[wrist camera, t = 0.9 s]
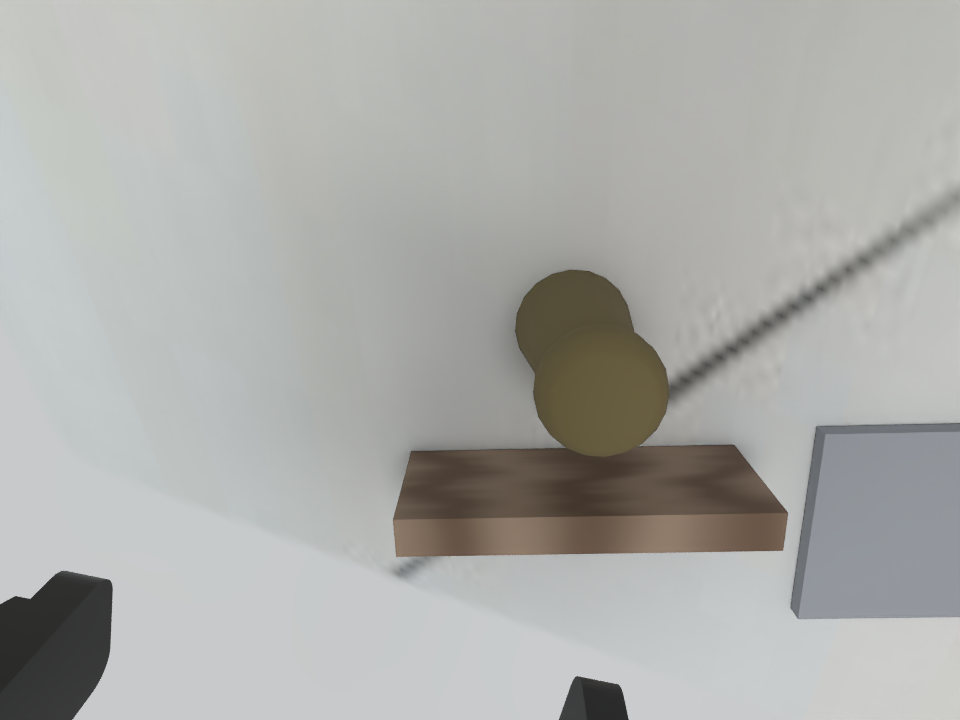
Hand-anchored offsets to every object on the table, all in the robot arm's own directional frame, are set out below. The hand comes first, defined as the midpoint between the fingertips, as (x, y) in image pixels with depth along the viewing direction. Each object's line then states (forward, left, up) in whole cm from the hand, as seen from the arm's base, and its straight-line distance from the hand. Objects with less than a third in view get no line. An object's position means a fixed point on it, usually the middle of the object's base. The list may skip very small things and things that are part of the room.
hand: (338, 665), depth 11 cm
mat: (-14, +26, -24) cm, 38 cm away
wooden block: (0, +11, -24) cm, 27 cm away
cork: (-5, +5, -24) cm, 25 cm away
